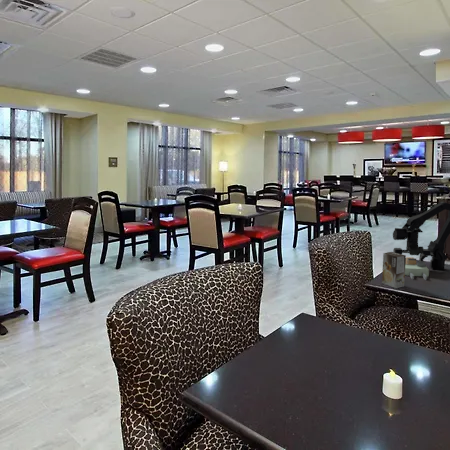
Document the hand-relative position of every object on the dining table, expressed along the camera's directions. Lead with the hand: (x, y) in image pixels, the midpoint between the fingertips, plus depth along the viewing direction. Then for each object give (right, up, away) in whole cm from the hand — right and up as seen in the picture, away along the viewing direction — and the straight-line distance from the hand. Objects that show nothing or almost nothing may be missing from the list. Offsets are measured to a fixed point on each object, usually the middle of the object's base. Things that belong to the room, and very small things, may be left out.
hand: (410, 266), depth 224 cm
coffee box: (-22, -7, -28) cm, 36 cm away
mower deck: (-3, -4, -13) cm, 14 cm away
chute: (0, -2, 0) cm, 2 cm away
